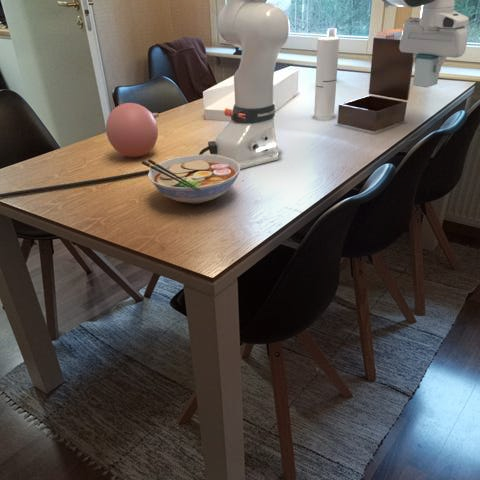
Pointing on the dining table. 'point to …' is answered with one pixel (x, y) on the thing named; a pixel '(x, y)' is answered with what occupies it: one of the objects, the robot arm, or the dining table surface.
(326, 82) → the cylindrical container
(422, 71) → the white teal-lidded container
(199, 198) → the ramen bowl
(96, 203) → the dining table surface
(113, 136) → the balloon
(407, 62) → the lid
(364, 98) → the chest
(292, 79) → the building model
